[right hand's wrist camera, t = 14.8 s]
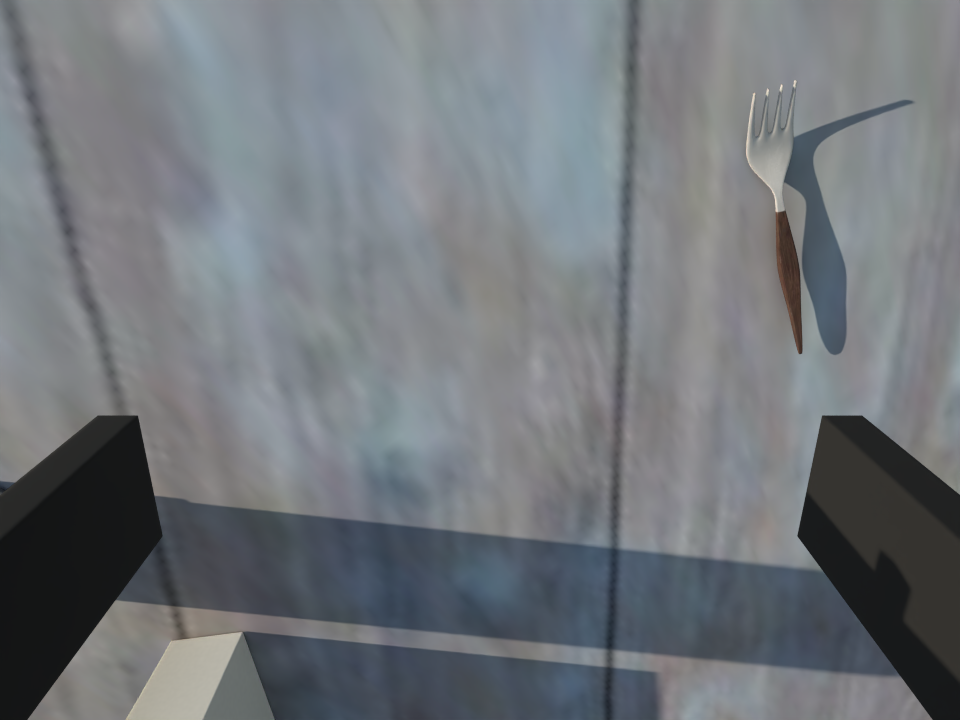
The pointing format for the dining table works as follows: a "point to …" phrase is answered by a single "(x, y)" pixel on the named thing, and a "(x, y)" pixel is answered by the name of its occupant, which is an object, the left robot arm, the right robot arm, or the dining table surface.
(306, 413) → the dining table surface
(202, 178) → the dining table surface
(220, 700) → the bar
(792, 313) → the fork
